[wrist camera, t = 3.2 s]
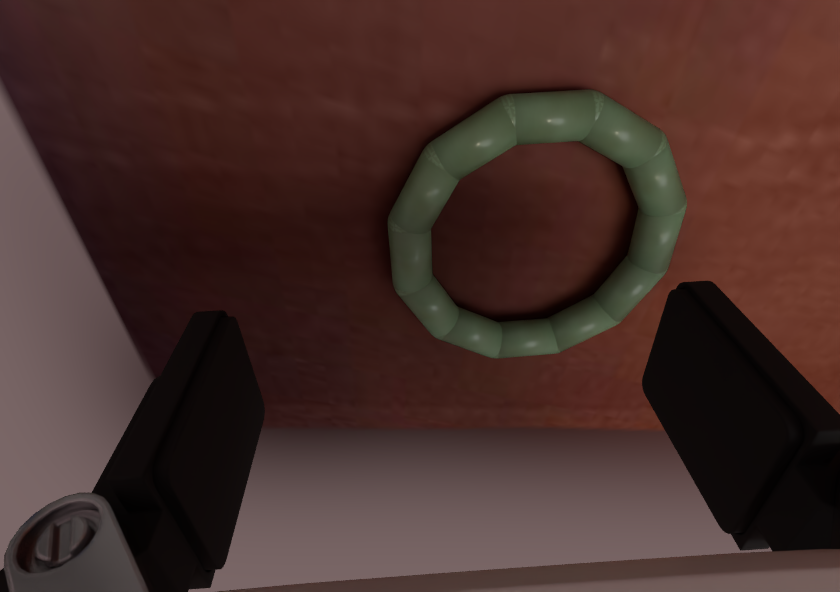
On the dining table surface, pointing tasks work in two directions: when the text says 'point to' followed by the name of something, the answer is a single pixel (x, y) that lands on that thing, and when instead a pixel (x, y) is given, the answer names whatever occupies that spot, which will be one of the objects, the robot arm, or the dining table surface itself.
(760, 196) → the dining table surface
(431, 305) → the ring
